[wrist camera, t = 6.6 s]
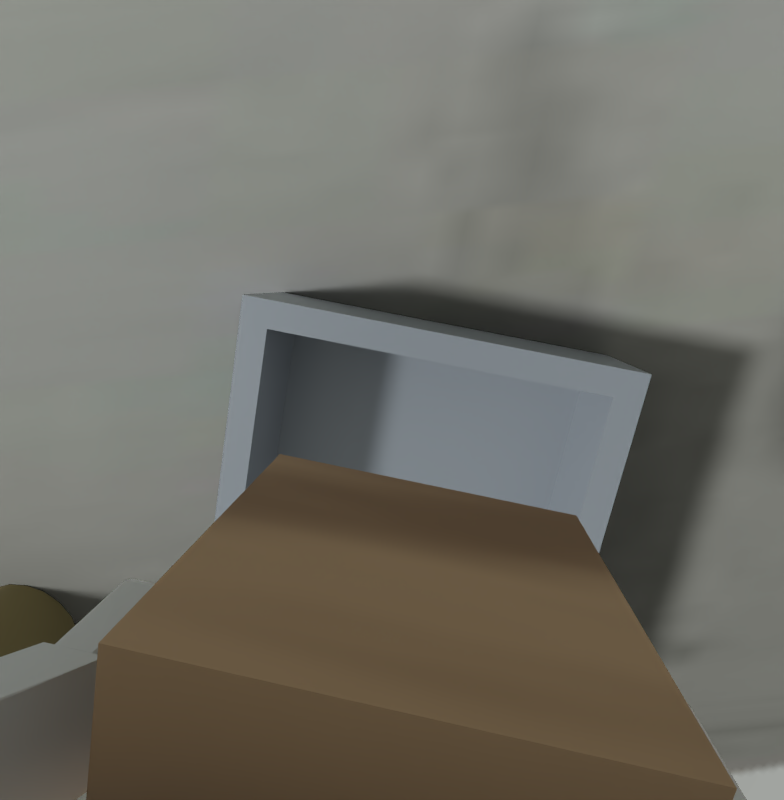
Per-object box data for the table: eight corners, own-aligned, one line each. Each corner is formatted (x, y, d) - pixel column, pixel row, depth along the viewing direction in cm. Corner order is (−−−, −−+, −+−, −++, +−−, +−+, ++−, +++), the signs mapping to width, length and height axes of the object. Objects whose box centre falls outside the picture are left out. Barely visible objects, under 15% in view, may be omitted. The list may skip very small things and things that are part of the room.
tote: (283, 292, 24) (242, 294, 19) (607, 355, 23) (651, 374, 18) (233, 650, 28) (188, 729, 23) (508, 712, 27) (523, 807, 22)
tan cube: (279, 454, 9) (99, 642, 4) (576, 515, 9) (737, 788, 4) (243, 704, 10) (64, 1079, 5) (507, 764, 10) (567, 1215, 5)
